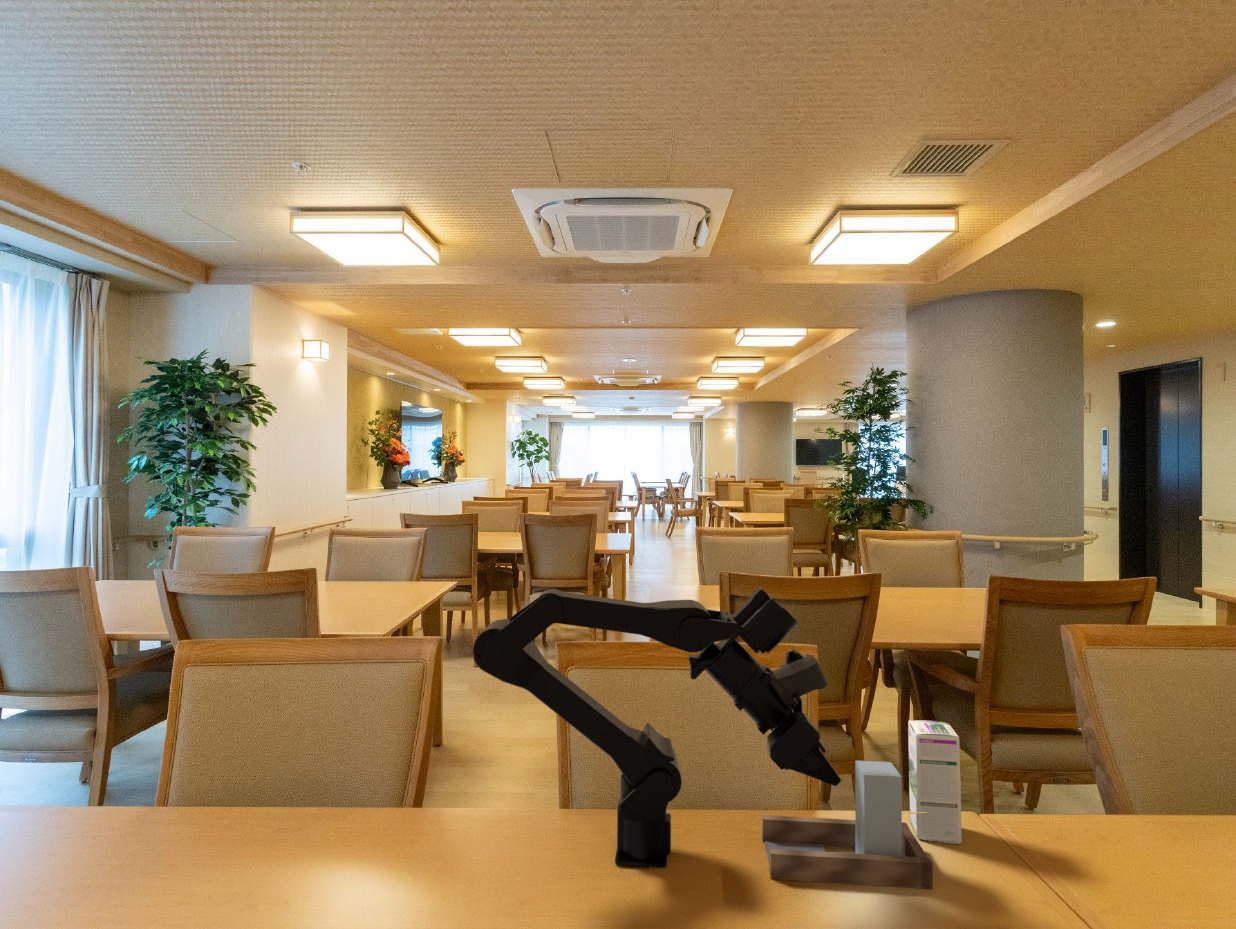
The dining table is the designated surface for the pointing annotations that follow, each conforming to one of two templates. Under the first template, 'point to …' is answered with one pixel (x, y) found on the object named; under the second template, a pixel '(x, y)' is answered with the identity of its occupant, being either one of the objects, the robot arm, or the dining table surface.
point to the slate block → (878, 809)
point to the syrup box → (934, 781)
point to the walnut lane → (839, 854)
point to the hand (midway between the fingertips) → (830, 767)
